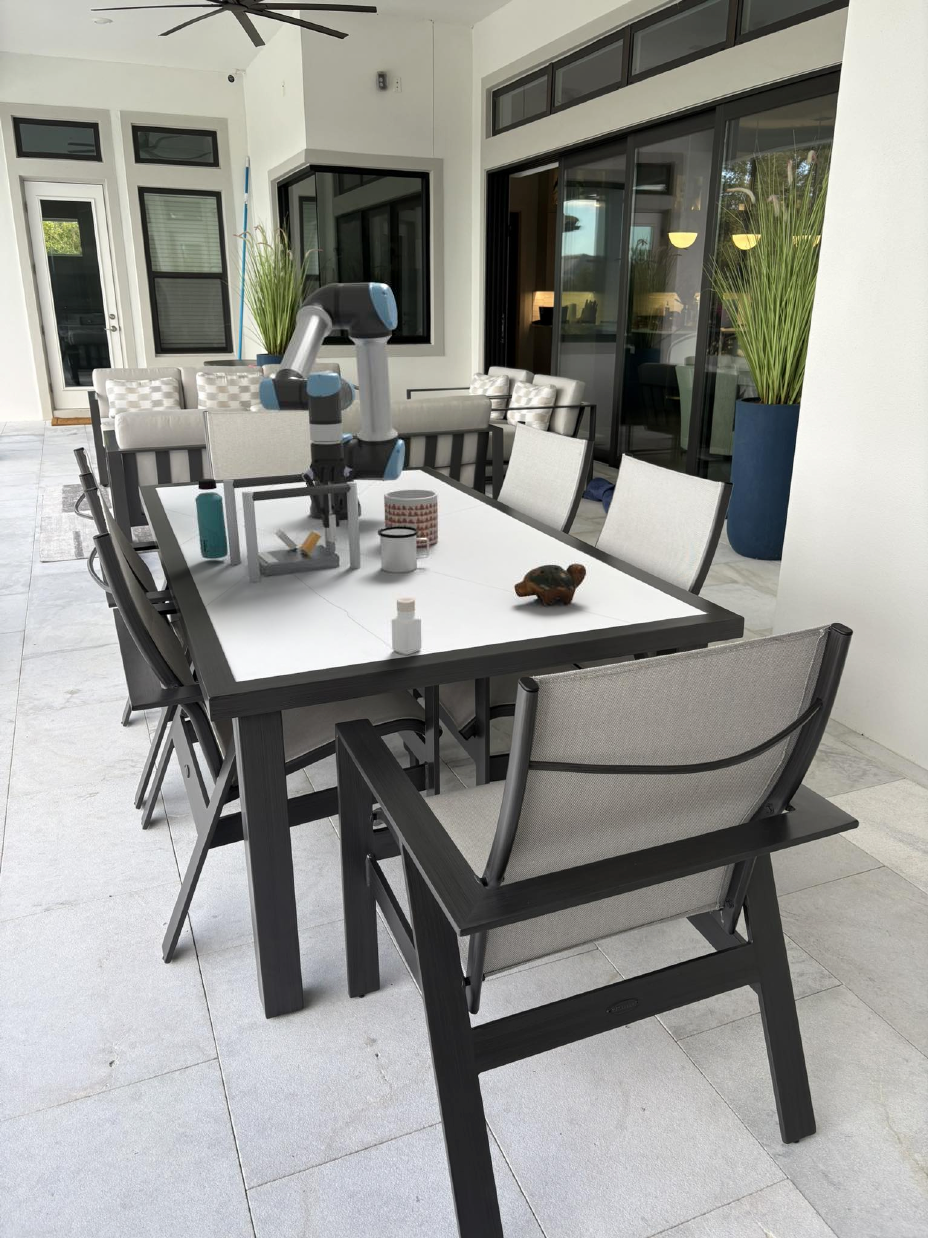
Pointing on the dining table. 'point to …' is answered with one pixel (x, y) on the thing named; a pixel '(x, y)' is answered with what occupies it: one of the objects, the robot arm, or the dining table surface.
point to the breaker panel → (296, 560)
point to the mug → (399, 548)
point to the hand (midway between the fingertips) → (331, 540)
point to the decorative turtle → (552, 583)
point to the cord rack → (278, 494)
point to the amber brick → (310, 543)
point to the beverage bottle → (211, 521)
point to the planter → (413, 512)
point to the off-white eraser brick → (286, 539)
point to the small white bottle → (406, 627)
